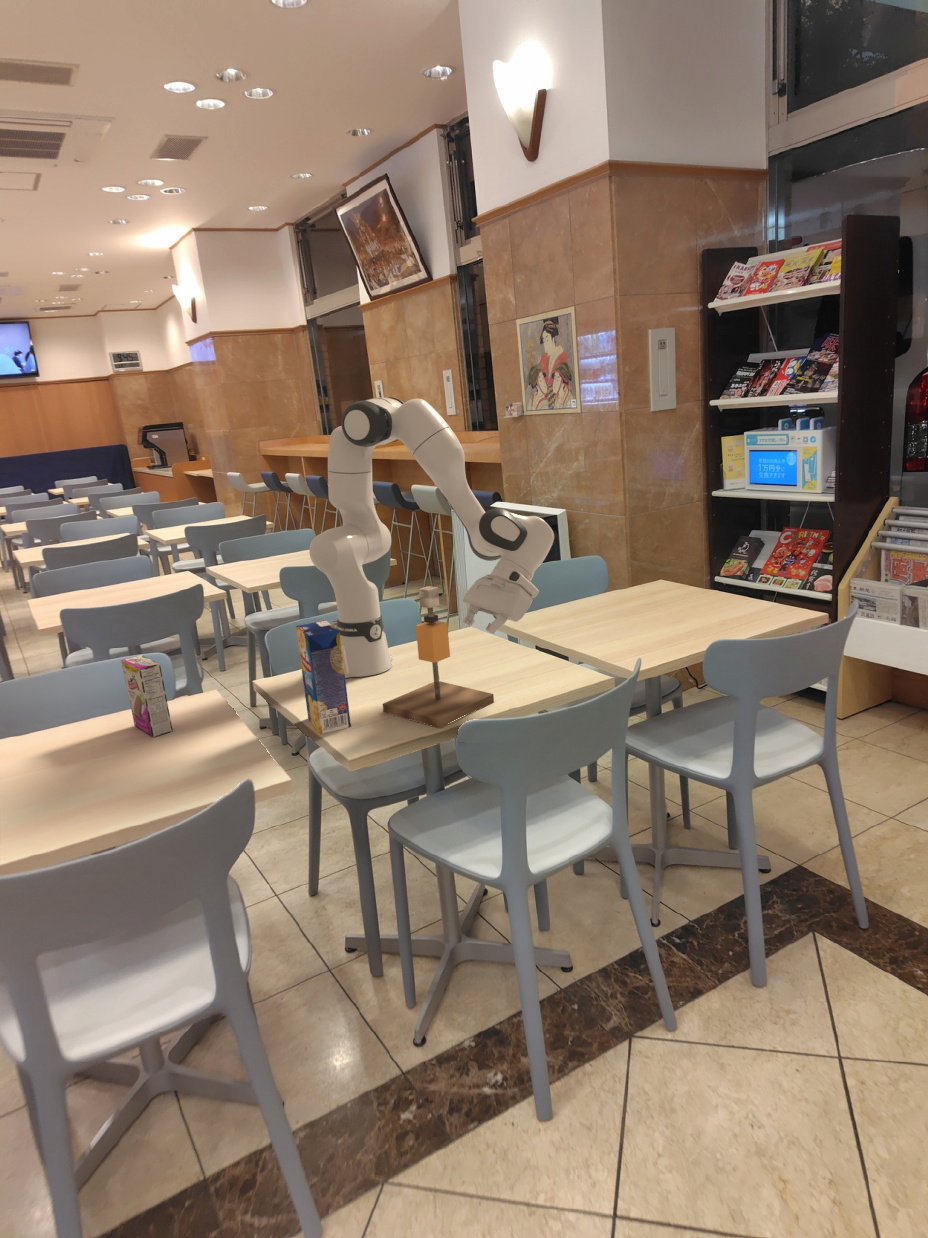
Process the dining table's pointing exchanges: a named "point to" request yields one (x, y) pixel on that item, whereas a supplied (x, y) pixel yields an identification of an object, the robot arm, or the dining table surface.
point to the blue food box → (323, 676)
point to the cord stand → (436, 688)
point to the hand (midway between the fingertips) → (477, 628)
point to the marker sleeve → (433, 641)
